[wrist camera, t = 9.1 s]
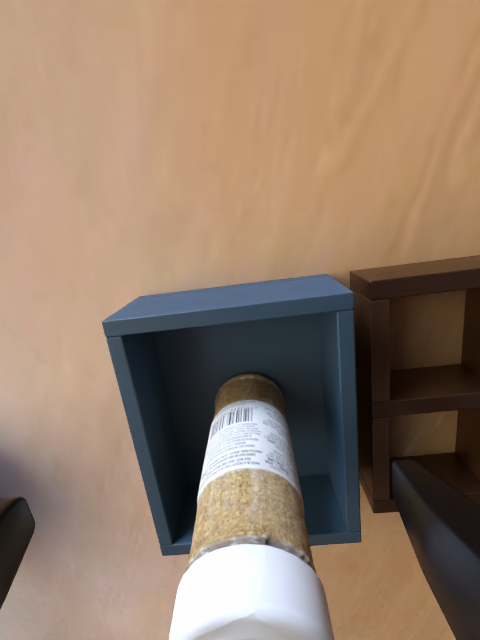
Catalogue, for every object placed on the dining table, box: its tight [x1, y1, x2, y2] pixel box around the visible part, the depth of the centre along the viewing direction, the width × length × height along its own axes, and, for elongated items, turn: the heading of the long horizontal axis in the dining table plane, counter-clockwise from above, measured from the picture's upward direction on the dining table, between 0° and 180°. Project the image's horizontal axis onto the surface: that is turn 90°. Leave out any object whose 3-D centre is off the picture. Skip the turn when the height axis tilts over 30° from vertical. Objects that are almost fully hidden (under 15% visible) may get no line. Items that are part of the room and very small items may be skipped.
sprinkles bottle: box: [169, 373, 334, 640], centre depth 15 cm, size 5×5×14 cm
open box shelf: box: [102, 274, 361, 556], centre depth 19 cm, size 15×12×5 cm
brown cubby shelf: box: [350, 255, 480, 513], centre depth 20 cm, size 15×8×4 cm, turn 7°
